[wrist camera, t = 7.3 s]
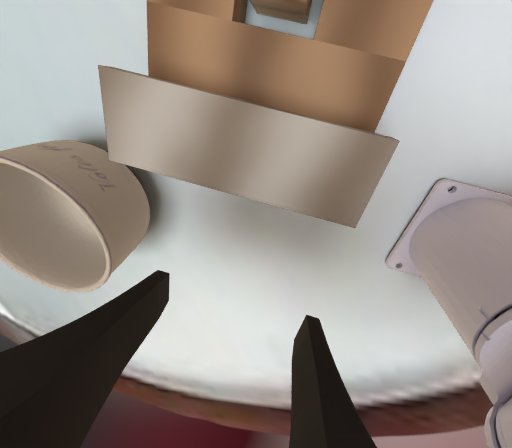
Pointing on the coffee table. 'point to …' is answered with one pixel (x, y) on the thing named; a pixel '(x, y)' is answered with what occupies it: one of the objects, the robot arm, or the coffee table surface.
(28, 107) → the coffee table surface
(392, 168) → the coffee table surface
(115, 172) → the teacup
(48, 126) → the coffee table surface
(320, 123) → the socket block
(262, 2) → the peg
